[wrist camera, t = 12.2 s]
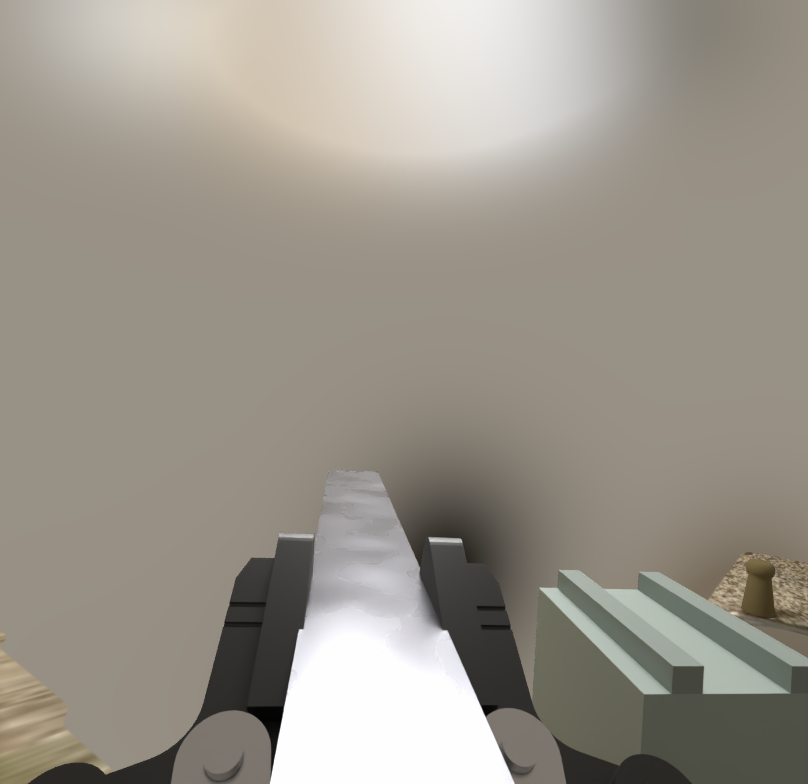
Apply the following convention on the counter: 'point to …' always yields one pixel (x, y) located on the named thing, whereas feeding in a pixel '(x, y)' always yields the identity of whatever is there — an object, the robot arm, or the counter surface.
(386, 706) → the lever bar
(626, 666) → the frame
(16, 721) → the counter surface
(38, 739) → the counter surface
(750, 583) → the cork
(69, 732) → the counter surface
